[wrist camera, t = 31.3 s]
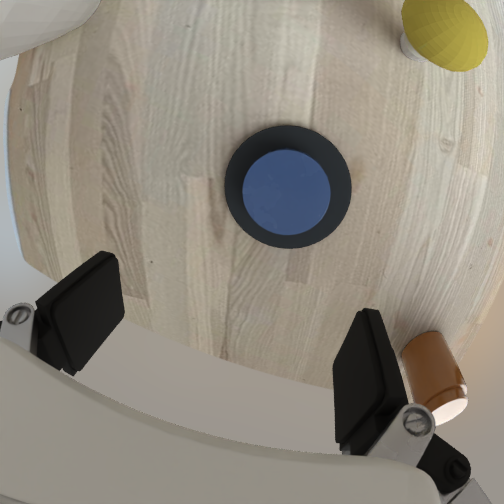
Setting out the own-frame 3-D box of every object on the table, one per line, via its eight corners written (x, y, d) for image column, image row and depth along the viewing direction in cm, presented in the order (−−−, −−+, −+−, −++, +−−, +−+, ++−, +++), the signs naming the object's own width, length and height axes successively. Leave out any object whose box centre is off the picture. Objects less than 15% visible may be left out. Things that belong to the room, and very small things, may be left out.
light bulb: (420, 15, 13) (470, -23, 4) (452, 75, 15) (518, 63, 6) (364, 24, 15) (399, -26, 6) (399, 88, 17) (458, 70, 8)
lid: (252, 141, 21) (249, 142, 20) (335, 158, 21) (339, 160, 19) (241, 219, 24) (236, 226, 23) (317, 234, 24) (319, 243, 22)
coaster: (333, 256, 25) (334, 259, 25) (220, 234, 26) (218, 236, 25) (361, 141, 20) (363, 141, 20) (234, 117, 21) (232, 116, 21)
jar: (429, 366, 30) (448, 425, 20) (392, 365, 30) (408, 431, 21) (452, 332, 27) (481, 392, 17) (415, 329, 27) (442, 397, 18)
